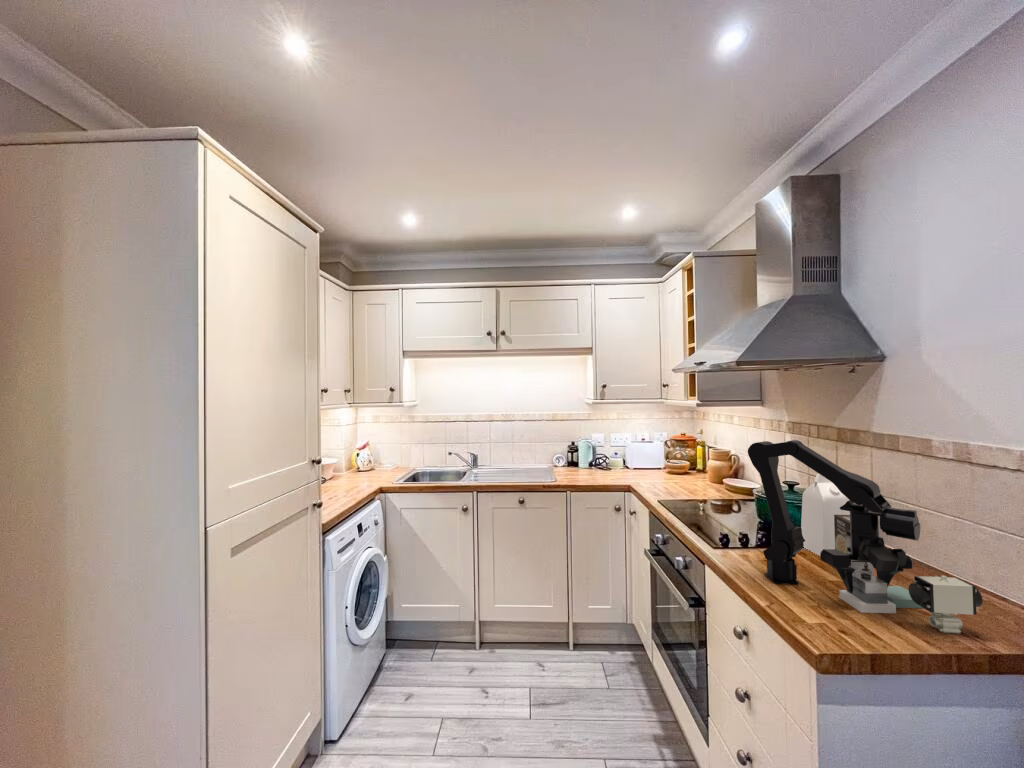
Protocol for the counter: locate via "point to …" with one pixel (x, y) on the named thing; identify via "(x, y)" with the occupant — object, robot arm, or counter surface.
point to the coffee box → (848, 542)
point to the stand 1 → (864, 606)
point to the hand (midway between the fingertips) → (866, 593)
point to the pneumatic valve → (945, 600)
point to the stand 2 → (900, 597)
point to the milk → (821, 514)
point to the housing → (869, 588)
